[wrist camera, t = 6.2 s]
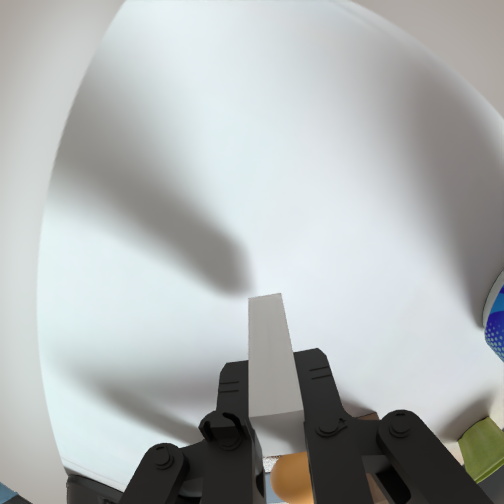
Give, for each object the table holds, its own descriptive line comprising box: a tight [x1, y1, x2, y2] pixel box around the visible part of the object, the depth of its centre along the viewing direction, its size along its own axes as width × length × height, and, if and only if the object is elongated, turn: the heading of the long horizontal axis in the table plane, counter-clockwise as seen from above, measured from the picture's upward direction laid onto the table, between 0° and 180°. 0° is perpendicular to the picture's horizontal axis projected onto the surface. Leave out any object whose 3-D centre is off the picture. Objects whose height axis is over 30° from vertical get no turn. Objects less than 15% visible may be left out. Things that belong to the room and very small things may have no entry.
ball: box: [270, 451, 314, 504], centre depth 18 cm, size 6×6×6 cm
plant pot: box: [458, 417, 504, 483], centre depth 21 cm, size 9×9×9 cm
